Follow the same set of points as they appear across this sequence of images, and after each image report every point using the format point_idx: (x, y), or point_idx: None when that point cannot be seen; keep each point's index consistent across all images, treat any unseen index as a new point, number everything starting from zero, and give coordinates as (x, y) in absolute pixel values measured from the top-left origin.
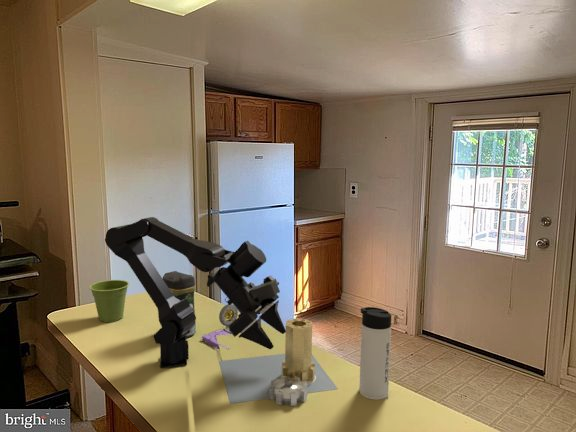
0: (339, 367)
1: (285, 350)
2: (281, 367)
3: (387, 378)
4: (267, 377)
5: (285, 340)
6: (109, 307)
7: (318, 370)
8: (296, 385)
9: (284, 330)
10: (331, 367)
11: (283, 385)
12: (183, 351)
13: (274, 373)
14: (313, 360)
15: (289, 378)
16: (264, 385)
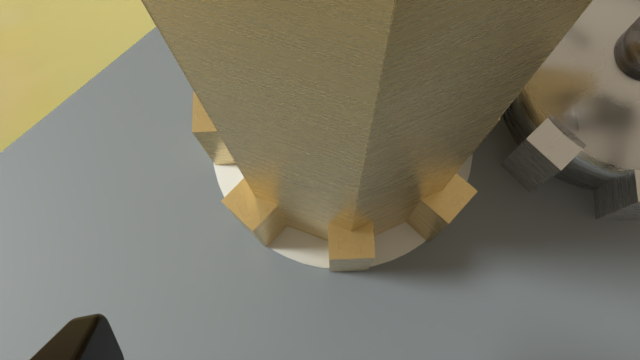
0: (11, 3)
1: (487, 132)
2: (259, 337)
3: None
4: (470, 355)
5: (528, 80)
6: None
7: (173, 61)
8: (609, 4)
9: (94, 334)
10: (32, 47)
11: None
12: None
13: (380, 338)
14: (28, 160)
15: (547, 95)
16: (590, 309)
